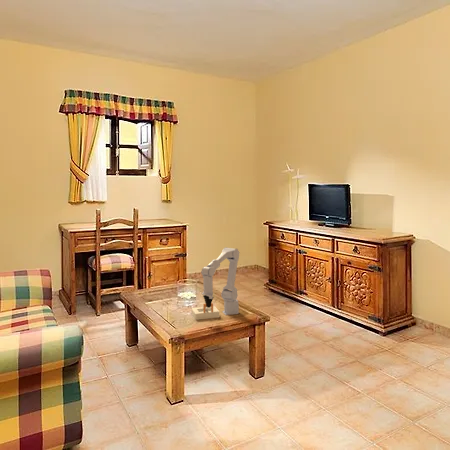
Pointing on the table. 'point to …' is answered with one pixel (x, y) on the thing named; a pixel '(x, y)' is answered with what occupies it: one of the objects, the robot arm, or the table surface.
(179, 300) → the table surface
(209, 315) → the cream frame with crossbar
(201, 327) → the table surface
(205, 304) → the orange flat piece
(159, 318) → the table surface
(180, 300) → the table surface
